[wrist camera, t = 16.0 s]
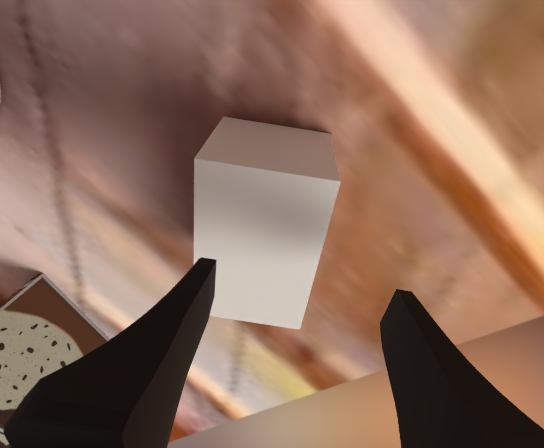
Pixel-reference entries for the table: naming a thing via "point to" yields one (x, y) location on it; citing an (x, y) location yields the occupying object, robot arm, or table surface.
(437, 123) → the table surface
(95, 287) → the table surface
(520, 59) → the table surface
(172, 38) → the table surface
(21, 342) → the food container
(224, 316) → the white block
